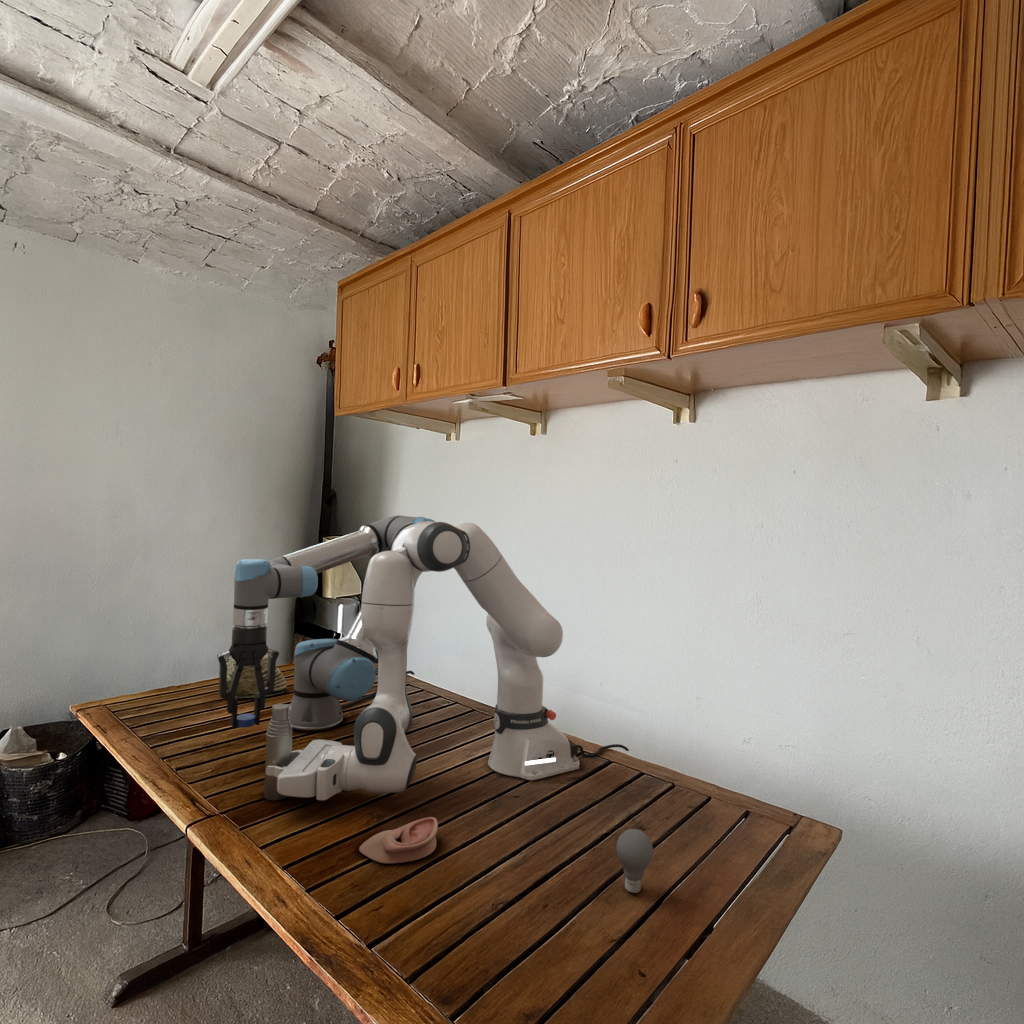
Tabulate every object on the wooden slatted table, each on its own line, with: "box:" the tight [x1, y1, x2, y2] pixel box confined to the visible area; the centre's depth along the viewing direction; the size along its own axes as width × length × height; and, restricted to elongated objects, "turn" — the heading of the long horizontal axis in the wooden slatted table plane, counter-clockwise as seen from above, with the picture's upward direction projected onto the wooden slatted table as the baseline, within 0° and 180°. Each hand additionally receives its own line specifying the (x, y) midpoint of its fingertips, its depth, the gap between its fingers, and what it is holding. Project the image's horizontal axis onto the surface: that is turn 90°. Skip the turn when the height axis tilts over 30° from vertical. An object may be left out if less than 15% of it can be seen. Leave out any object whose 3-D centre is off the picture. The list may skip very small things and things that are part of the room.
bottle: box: [263, 703, 293, 801], centre depth 134 cm, size 5×5×19 cm
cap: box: [237, 713, 256, 728], centre depth 148 cm, size 4×4×2 cm
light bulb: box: [615, 828, 654, 894], centre depth 106 cm, size 6×6×10 cm
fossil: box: [226, 653, 288, 699], centre depth 198 cm, size 9×18×15 cm, turn 132°
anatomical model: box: [358, 816, 439, 864], centre depth 116 cm, size 13×4×12 cm
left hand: (245, 724), depth 148 cm, fingers closed on cap, 4 cm apart
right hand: (274, 762), depth 134 cm, fingers closed on bottle, 5 cm apart
